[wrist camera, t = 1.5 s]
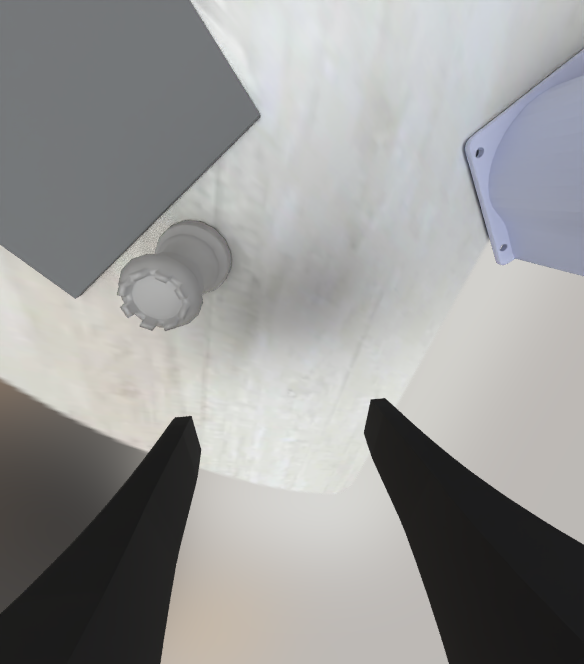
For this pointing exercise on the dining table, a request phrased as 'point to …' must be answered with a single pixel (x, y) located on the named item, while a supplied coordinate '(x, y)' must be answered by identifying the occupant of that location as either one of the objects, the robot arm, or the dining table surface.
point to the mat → (105, 125)
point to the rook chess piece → (175, 276)
